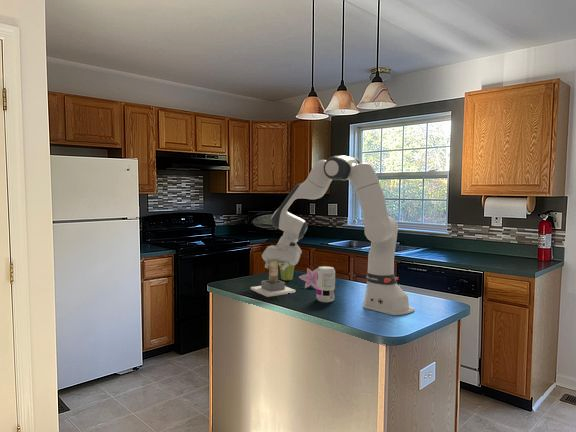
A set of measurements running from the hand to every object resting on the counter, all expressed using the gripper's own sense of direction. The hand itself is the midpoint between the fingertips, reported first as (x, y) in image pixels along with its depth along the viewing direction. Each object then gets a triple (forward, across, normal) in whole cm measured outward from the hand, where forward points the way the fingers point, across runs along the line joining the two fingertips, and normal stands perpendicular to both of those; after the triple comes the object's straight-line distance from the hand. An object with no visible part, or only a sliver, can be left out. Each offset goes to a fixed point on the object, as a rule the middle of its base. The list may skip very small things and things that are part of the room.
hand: (273, 268), depth 204 cm
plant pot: (-10, -9, +26) cm, 29 cm away
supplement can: (+7, +28, +9) cm, 31 cm away
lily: (-5, +11, +21) cm, 24 cm away
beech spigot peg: (+7, 0, +7) cm, 10 cm away
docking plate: (+8, 0, +8) cm, 11 cm away
